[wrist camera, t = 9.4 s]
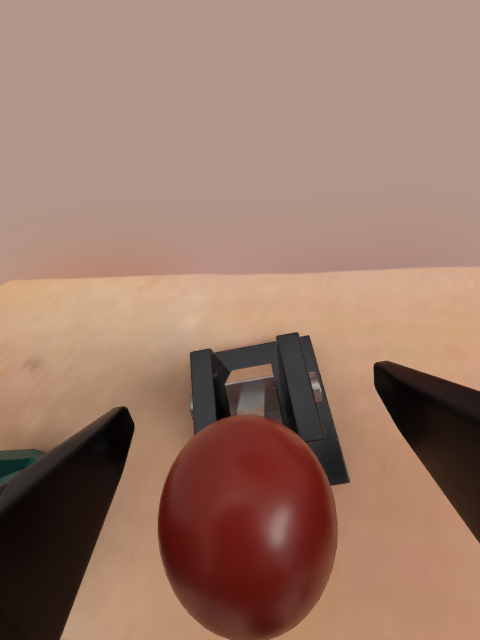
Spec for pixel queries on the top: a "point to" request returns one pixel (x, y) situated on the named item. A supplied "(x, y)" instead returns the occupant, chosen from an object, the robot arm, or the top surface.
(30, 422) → the top surface
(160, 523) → the lever
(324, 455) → the bracket
